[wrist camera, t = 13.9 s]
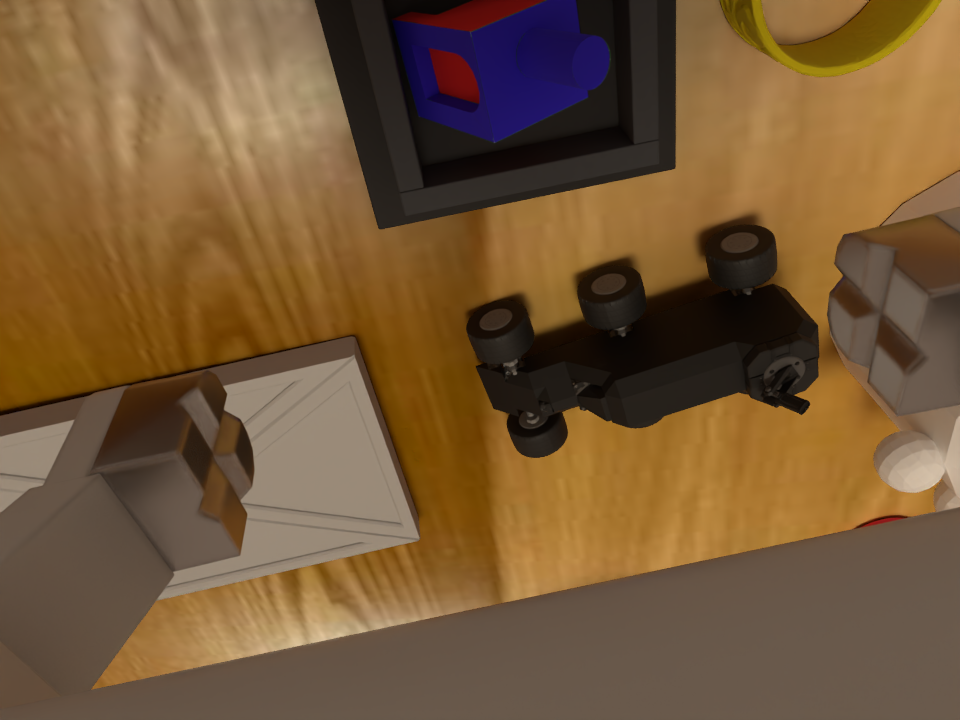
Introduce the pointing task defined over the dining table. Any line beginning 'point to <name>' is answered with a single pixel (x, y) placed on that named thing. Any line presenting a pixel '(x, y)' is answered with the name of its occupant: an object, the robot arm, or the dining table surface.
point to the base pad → (523, 155)
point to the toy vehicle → (652, 348)
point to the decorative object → (925, 435)
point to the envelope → (272, 463)
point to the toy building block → (499, 63)
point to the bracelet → (835, 35)
